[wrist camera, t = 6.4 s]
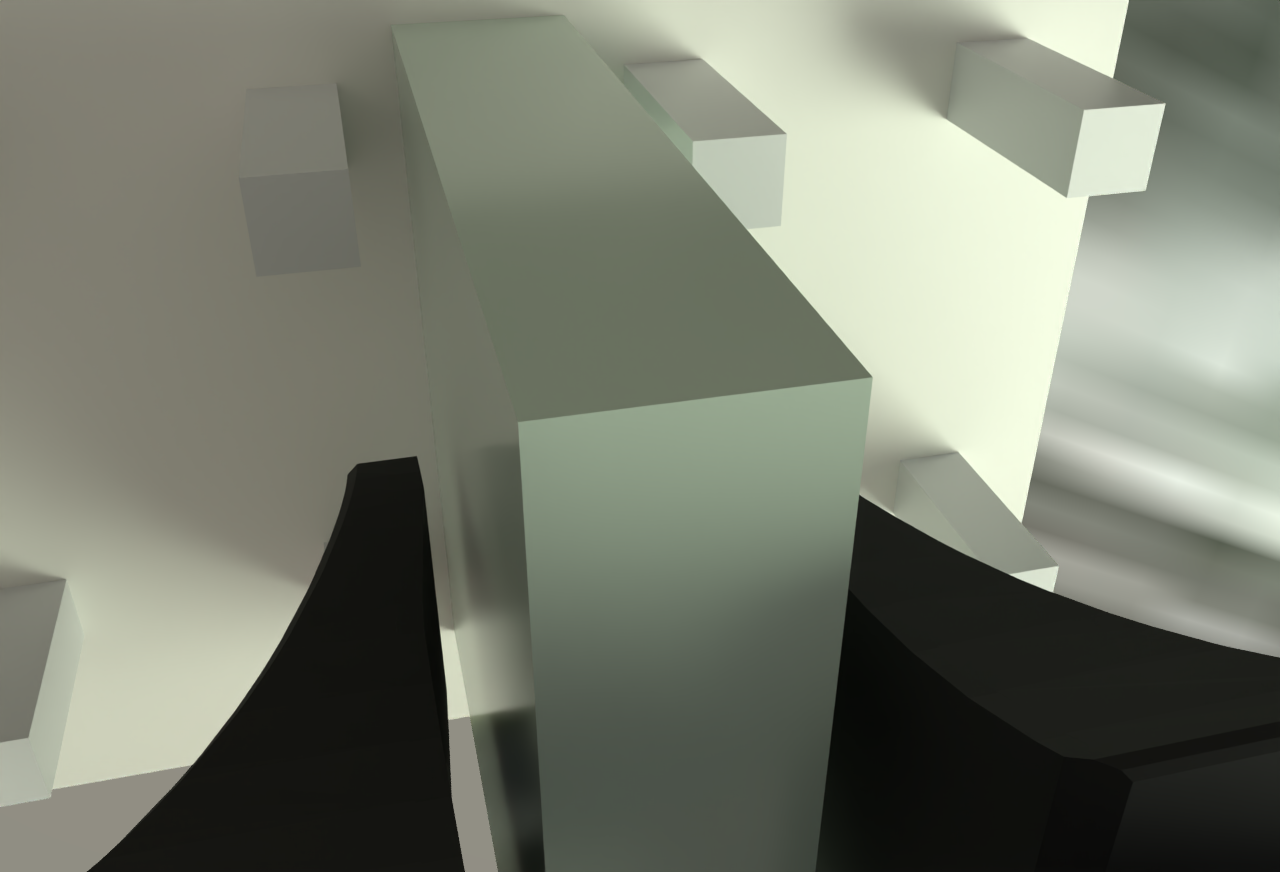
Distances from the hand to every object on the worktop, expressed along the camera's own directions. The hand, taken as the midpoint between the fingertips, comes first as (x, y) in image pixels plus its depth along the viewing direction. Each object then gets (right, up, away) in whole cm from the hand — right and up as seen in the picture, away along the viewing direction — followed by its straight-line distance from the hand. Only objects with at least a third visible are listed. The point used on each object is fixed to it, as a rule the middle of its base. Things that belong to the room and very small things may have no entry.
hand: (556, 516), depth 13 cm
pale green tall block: (-1, +2, +3) cm, 4 cm away
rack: (-1, +2, +4) cm, 5 cm away
